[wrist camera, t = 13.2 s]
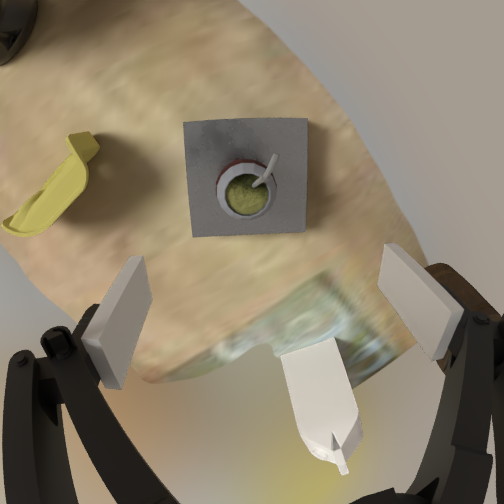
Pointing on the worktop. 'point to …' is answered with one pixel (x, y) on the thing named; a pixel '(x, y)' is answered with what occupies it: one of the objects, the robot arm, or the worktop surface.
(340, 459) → the milk
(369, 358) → the worktop surface
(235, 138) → the stand
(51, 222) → the plastic component
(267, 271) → the worktop surface
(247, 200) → the mate gourd
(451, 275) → the wooden container
